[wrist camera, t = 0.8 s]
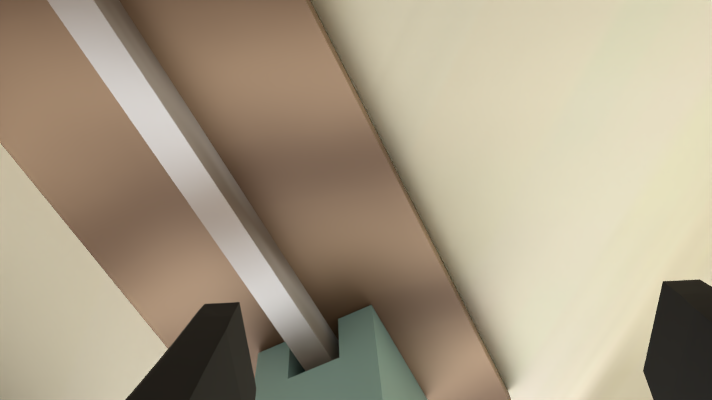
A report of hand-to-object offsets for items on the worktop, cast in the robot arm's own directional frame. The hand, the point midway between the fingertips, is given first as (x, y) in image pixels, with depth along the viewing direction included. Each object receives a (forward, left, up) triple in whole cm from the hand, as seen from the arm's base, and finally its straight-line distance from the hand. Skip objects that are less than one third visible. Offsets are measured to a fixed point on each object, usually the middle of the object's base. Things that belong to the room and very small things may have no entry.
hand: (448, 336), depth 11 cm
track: (-6, 0, -11) cm, 12 cm away
